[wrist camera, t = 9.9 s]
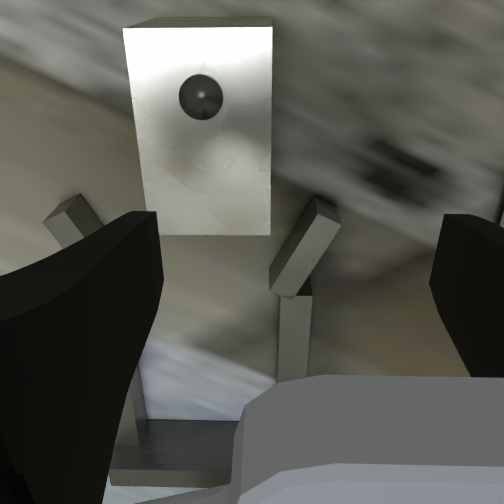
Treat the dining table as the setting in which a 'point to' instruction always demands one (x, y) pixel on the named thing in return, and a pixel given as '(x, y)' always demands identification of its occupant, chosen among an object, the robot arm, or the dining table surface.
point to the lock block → (204, 121)
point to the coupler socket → (209, 432)
